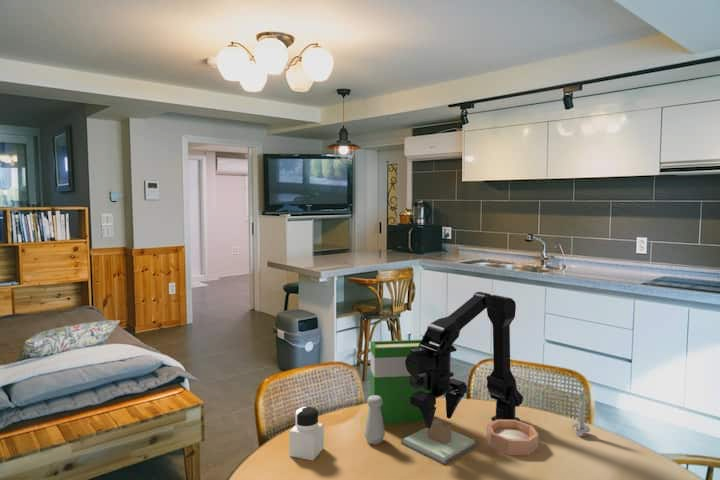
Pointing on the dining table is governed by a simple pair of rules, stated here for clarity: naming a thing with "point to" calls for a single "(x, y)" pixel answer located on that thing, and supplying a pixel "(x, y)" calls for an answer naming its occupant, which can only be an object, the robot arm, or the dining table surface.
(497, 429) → the bowl
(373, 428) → the salt shaker
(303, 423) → the medicine bottle
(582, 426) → the screw
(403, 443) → the mat
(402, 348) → the hardback book
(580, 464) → the dining table surface
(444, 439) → the lid
